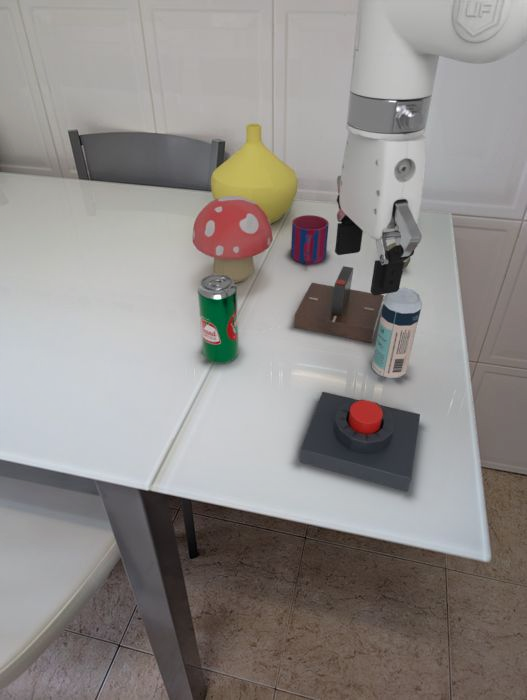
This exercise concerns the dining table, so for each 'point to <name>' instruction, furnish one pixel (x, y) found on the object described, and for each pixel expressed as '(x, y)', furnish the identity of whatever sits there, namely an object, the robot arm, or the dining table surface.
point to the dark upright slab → (342, 290)
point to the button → (365, 417)
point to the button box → (362, 443)
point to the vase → (256, 177)
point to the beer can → (396, 332)
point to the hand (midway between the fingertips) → (364, 271)
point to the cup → (309, 239)
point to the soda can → (218, 318)
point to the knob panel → (351, 324)
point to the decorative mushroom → (232, 235)
